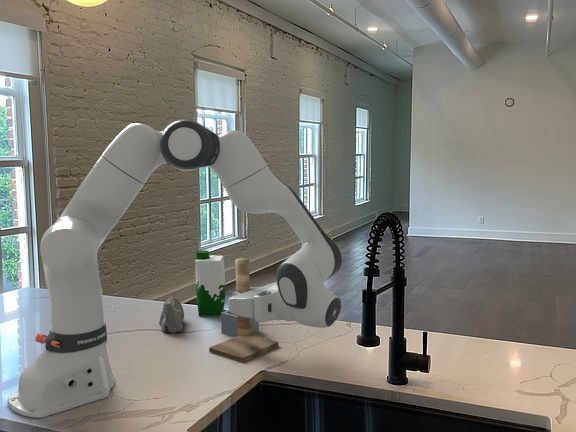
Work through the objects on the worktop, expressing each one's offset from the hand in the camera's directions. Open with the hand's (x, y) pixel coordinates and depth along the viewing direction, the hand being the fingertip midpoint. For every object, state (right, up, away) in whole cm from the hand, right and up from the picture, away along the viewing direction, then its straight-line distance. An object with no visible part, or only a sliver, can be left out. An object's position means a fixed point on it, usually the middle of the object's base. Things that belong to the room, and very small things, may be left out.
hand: (240, 292), depth 150 cm
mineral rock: (-21, -13, +21) cm, 32 cm away
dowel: (+1, -11, +1) cm, 11 cm away
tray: (+1, -15, +2) cm, 15 cm away
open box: (-1, -13, +15) cm, 20 cm away
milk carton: (-12, -11, +33) cm, 37 cm away
